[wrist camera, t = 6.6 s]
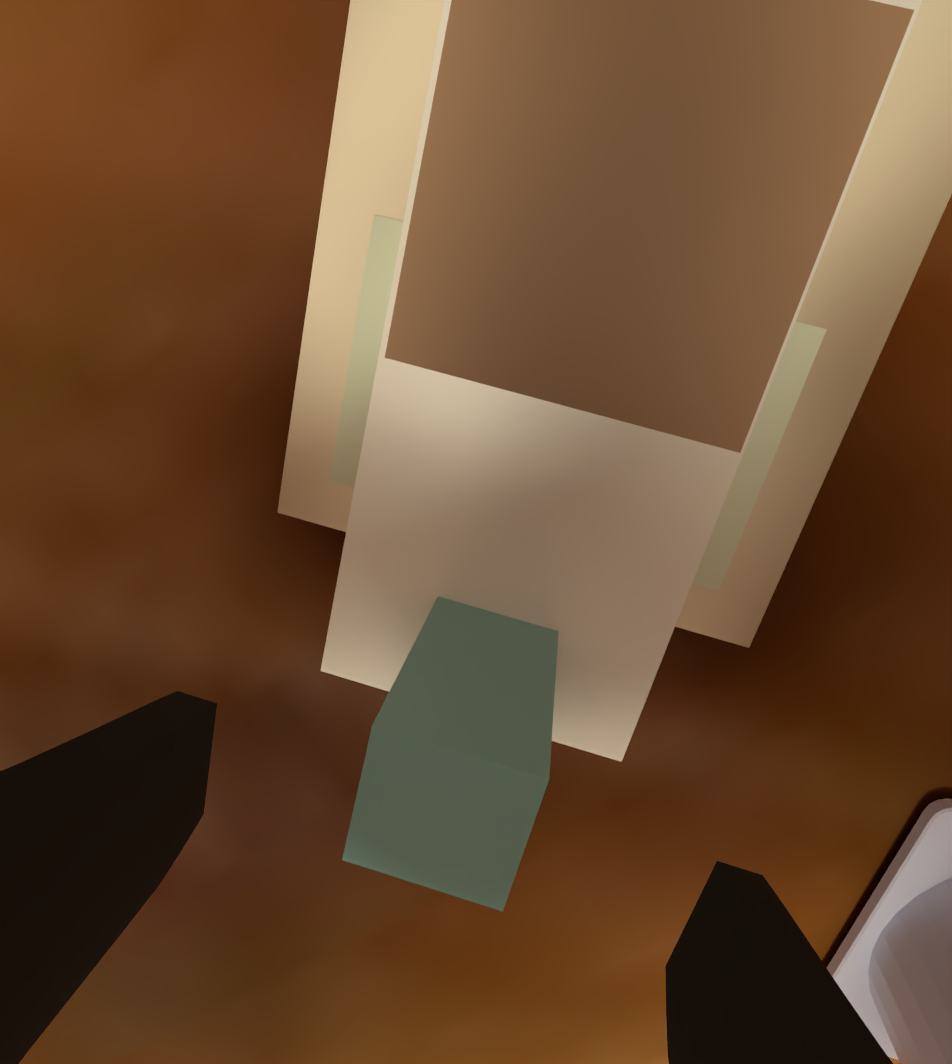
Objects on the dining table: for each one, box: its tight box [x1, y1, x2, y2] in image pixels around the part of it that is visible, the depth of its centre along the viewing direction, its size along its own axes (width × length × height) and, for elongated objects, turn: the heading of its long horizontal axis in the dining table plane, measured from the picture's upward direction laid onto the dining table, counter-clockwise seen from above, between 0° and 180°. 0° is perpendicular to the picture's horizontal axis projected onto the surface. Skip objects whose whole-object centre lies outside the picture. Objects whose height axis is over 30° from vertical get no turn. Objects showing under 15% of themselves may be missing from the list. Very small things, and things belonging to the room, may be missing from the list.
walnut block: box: [385, 0, 914, 453], centre depth 8 cm, size 4×4×4 cm
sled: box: [321, 0, 922, 911], centre depth 9 cm, size 6×14×5 cm, turn 166°
